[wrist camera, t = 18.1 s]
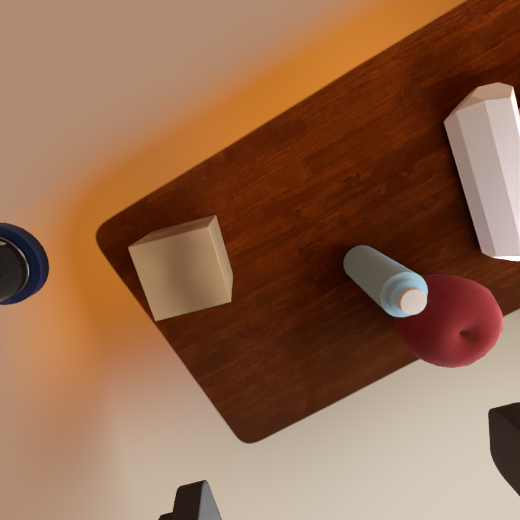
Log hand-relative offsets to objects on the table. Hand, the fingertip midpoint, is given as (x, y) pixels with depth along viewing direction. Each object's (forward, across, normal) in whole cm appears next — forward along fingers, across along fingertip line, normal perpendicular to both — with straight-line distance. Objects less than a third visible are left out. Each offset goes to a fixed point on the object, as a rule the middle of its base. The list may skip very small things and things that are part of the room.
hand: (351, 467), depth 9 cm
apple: (+38, -20, +16) cm, 45 cm away
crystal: (+37, -32, 0) cm, 49 cm away
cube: (+38, +10, +1) cm, 39 cm away
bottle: (+37, -13, +8) cm, 40 cm away
